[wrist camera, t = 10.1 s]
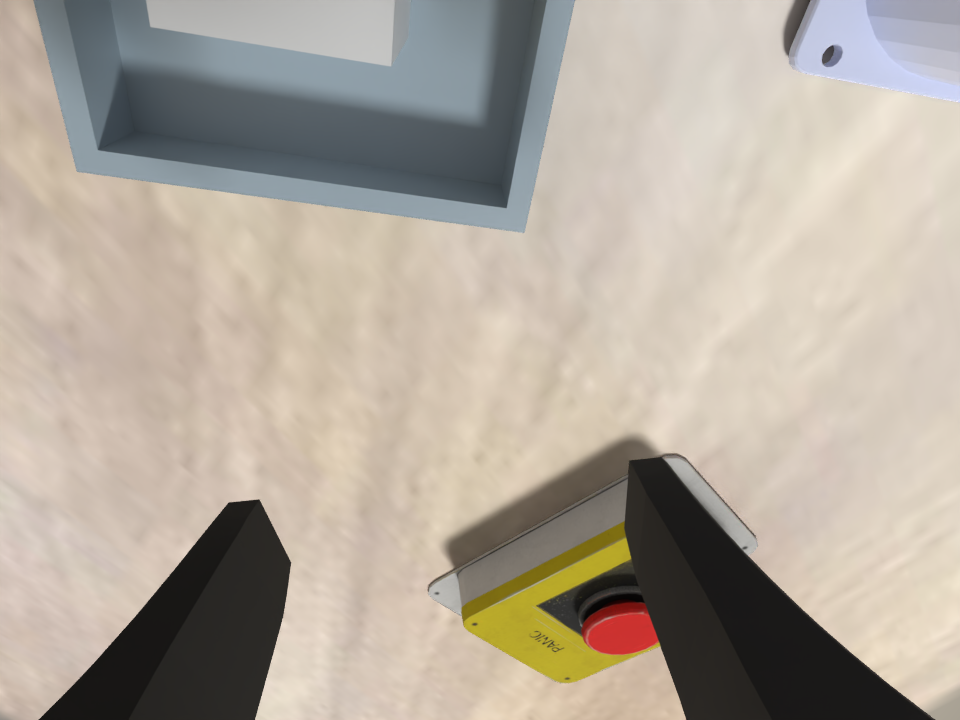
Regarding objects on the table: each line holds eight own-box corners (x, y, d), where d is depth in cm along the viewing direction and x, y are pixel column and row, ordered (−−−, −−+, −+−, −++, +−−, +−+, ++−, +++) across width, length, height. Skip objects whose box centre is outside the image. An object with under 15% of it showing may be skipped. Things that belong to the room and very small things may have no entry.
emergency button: (803, 620, 25) (535, 726, 30) (759, 537, 28) (526, 644, 33) (710, 522, 20) (415, 665, 26) (671, 439, 24) (420, 580, 29)
